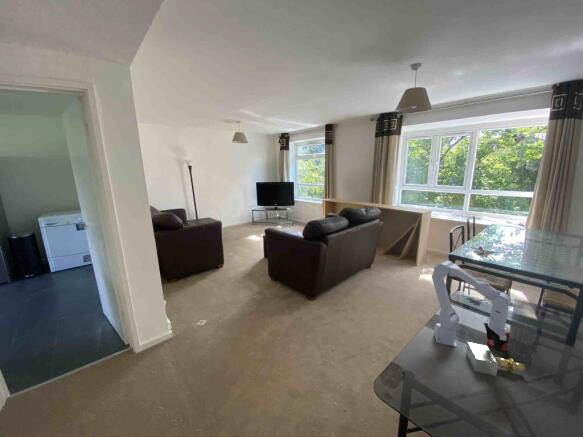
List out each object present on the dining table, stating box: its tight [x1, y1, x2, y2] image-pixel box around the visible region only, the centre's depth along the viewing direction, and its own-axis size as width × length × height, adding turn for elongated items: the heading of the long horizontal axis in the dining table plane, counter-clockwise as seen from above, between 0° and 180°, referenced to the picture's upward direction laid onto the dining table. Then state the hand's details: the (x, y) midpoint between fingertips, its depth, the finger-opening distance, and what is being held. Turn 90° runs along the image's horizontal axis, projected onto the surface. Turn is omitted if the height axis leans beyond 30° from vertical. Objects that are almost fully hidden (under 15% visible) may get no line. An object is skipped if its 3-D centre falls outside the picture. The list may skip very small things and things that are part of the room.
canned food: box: [487, 325, 511, 352], centre depth 123 cm, size 8×8×11 cm
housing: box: [465, 341, 499, 377], centre depth 112 cm, size 8×12×6 cm, turn 159°
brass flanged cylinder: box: [494, 356, 526, 373], centre depth 108 cm, size 10×6×6 cm, turn 69°
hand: (493, 344), depth 112 cm, fingers open, 7 cm apart
